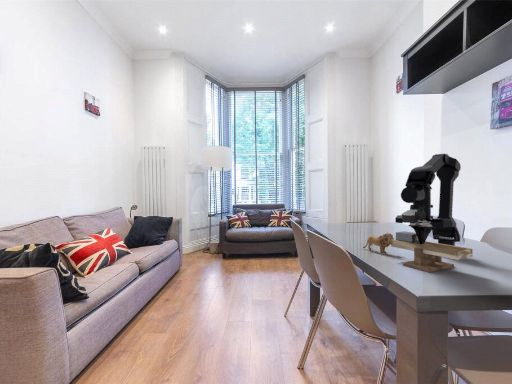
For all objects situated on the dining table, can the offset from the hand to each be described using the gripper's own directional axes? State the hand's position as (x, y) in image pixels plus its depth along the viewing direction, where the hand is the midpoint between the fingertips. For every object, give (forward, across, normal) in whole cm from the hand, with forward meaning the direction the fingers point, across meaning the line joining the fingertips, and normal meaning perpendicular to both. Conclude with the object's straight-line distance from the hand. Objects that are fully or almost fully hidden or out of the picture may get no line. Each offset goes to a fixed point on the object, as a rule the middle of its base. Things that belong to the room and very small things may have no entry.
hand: (421, 244), depth 108 cm
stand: (+8, +2, 0) cm, 8 cm away
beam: (+2, +2, 0) cm, 3 cm away
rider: (+1, -6, 0) cm, 6 cm away
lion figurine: (+8, -23, +3) cm, 24 cm away
